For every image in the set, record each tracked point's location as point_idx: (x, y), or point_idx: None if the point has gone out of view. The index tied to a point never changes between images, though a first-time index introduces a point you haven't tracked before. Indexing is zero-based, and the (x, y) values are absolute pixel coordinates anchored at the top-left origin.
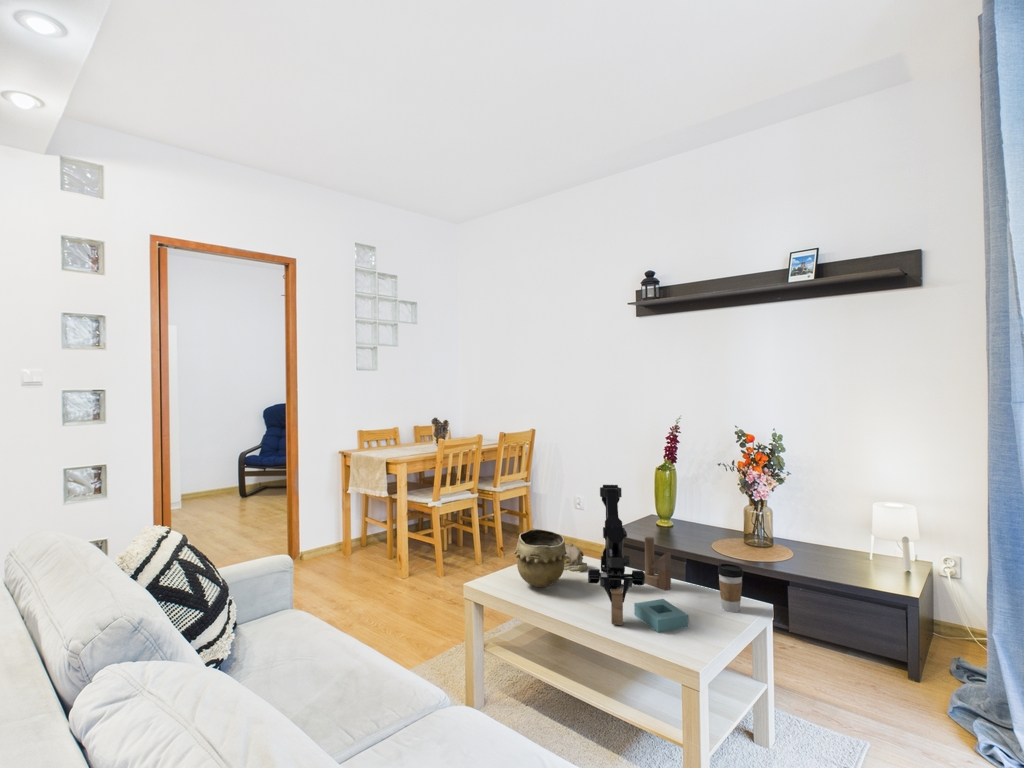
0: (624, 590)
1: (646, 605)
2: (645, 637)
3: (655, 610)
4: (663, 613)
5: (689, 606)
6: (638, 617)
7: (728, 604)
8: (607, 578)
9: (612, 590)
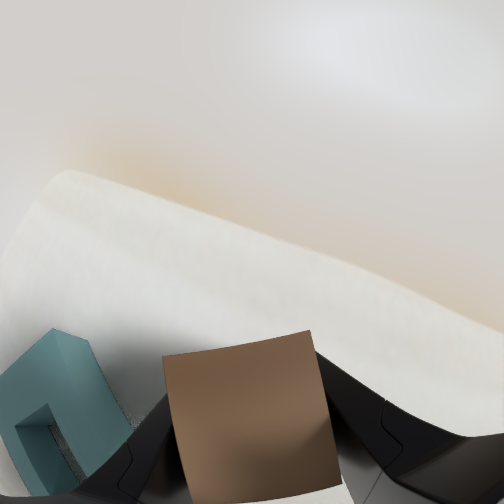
0: (143, 446)
1: None
2: (131, 285)
3: None
4: (34, 404)
5: None
6: None
7: None
8: (491, 480)
9: (319, 444)
